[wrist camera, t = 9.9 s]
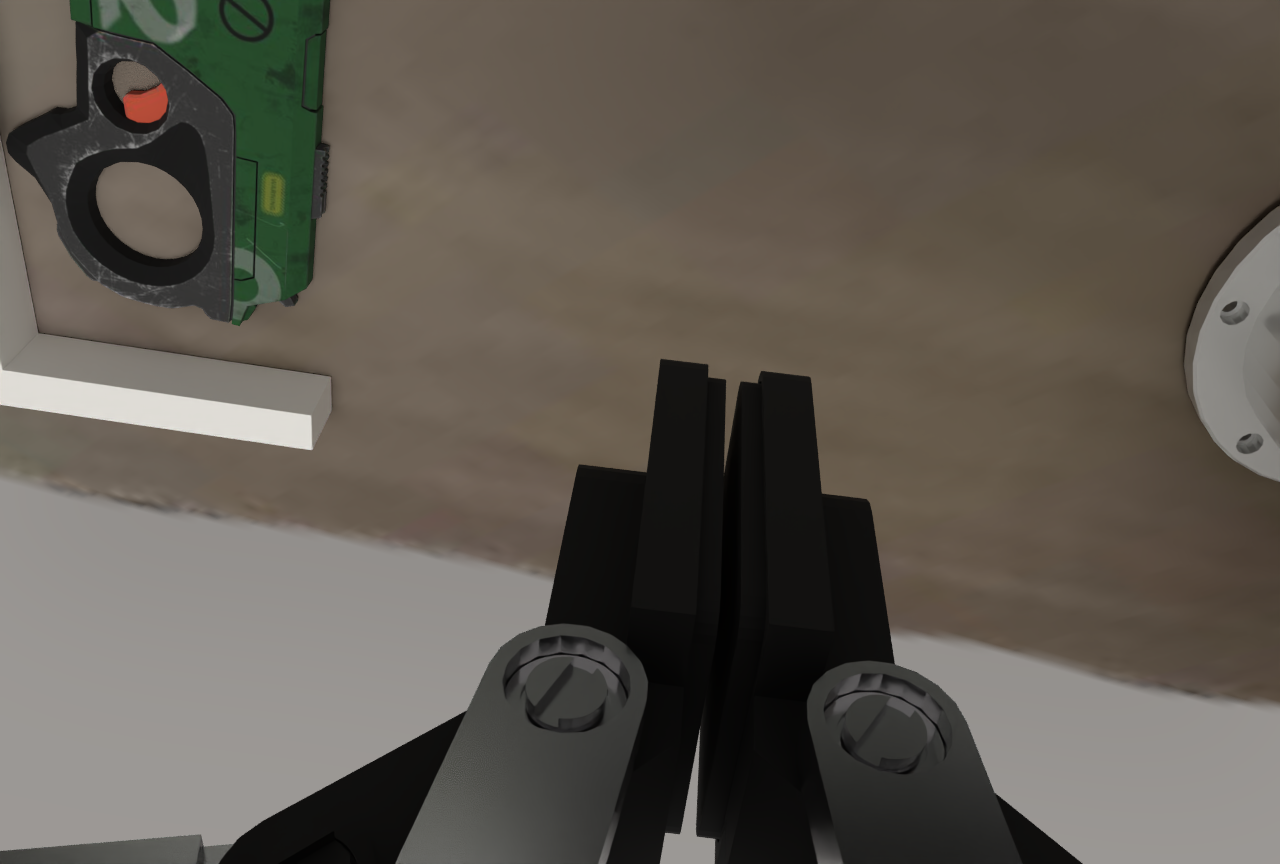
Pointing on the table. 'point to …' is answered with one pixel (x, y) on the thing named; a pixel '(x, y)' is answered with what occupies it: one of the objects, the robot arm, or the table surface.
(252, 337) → the table surface
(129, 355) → the white angled bar
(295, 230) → the gun
